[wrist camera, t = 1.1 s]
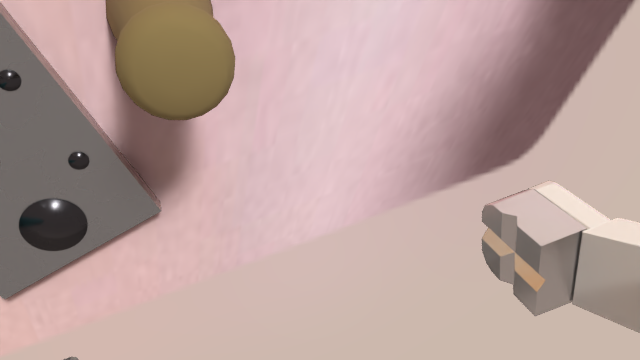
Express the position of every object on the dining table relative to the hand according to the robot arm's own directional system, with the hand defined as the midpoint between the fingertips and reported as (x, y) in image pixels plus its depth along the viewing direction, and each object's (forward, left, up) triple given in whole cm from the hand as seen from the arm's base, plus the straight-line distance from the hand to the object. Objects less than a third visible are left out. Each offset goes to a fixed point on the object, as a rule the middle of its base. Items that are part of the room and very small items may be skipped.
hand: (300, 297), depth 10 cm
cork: (+1, 0, -26) cm, 26 cm away
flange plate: (+14, +2, -26) cm, 30 cm away
